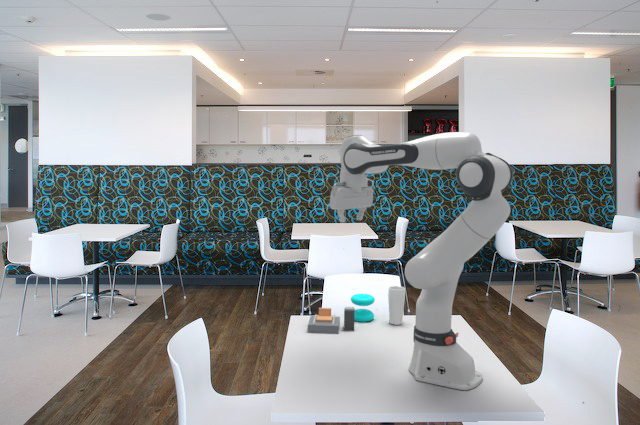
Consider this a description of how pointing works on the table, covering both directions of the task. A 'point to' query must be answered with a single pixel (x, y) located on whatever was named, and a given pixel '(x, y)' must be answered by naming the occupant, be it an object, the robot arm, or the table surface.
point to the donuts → (363, 300)
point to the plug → (349, 318)
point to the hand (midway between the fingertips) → (351, 221)
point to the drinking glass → (396, 304)
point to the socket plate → (323, 325)
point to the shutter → (324, 315)
